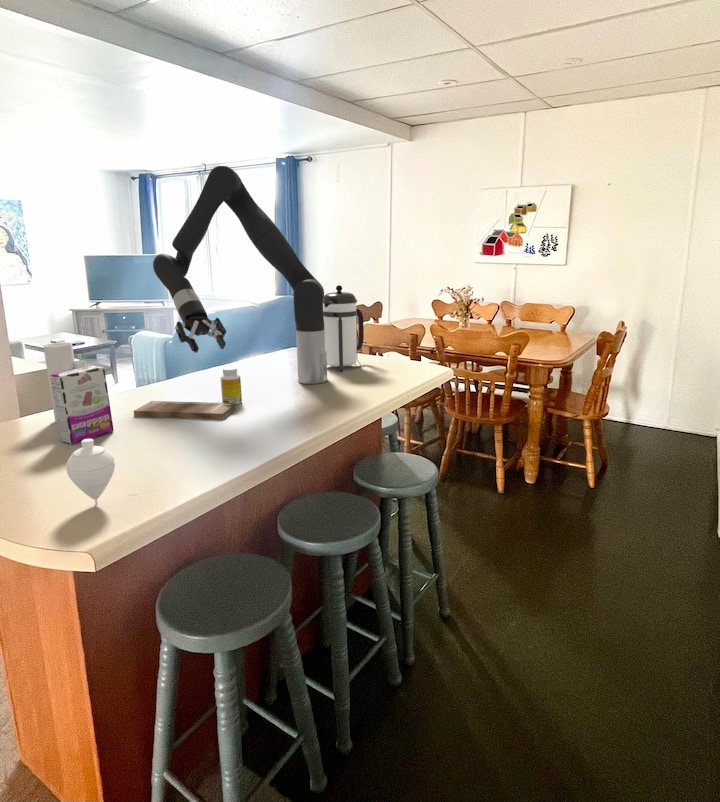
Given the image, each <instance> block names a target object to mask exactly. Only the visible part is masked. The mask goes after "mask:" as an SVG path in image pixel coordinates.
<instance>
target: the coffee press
mask: <svg viewBox="0 0 720 802" xmlns="http://www.w3.org/2000/svg"><path fill="white" fill-rule="evenodd" d="M335 289H336V292H335V291H333V292H328V293H325V294H324V299H323V318H324V333H325V351H326V352H327V366H331V367H338V368H339V370H340V371H339V370H338V371H339V372H344V367H349V366H353V365H354V366H356V367H357V366H358V365H357V364H356V363H357V362H358V364H359V366H360V367H361V366H362V365H361V364H362V363H360V361H359V360H358V359H359V358H358V351H359V350H361V349H362V346H363V344H364V339H365V338H364V336H365V335H364V330H365V327H364V326H365V325H364V315H363V313H362V310H360V309H359V308H357V303H358V299H357V298H356V296H355V294H353V293H351V292H347V291H345V292H344V291H343V292H342V290H343V287H342V285H340V284H338V285H337V286H336V288H335ZM357 331H358V336H357Z"/></svg>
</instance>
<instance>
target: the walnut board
mask: <svg viewBox="0 0 720 802" xmlns="http://www.w3.org/2000/svg"><path fill="white" fill-rule="evenodd" d="M237 408H238V407H237V404H236V403H223V402H201V401H200V402H199V401H197V402H196V401H173V400H172V401H170V400H169V401H168V400H166V401H165V400H150V401H149V402H148V403H145V404H143V405H141V406H140V407H138V408H136V409H134V410H133V417H136V418H139V417H140V418H141V417H142V418H143V417H144V418H171V419H193V420H194V419H195V420H196V419H198V420H224V419H226V418H227V417H229V416H230V415H231V414H232V413H234V412H235V411H236V410H237Z"/></svg>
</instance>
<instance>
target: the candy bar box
mask: <svg viewBox="0 0 720 802" xmlns="http://www.w3.org/2000/svg"><path fill="white" fill-rule="evenodd" d="M106 377H107V376H106V371H105V367H104V366H98V365H96V364H95V365H89V366H86V367H83V368H78V369H74V370H69V371H64V372H59V373H55V374H50V381H51V386H52V392H53V398H54V403H55V409H56V415H57V420H58V423H57V425H58V430H59V436H60V442H62V443H66V444H70V445H75V444H79V443H81V441H82V440H84V439H94V438H97V437H101V436H103V435H104V436H105V435H106V434H107V435H108V434H110V433H113V432H114V429H115V428H114V423H113V417H112V410H111V403H110V399H109V389H108V384H107V378H106Z"/></svg>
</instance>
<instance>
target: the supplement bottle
mask: <svg viewBox="0 0 720 802" xmlns="http://www.w3.org/2000/svg"><path fill="white" fill-rule="evenodd" d="M241 380H242V379H241V375H240V374H239V373H238V368H237V367H234V366H230V367H229V366H228V367H224V368H223V369H222V375H220V388H221V389H220V390H221V401H222V402H221V403H236V405H239V404H241V403H242V401H243V396H242V382H241Z"/></svg>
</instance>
